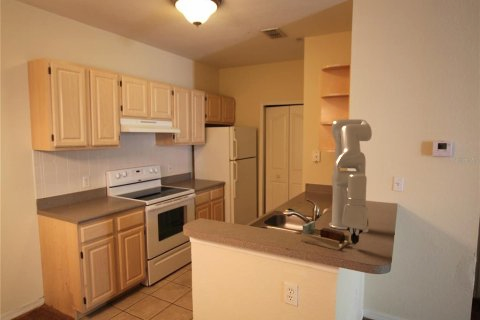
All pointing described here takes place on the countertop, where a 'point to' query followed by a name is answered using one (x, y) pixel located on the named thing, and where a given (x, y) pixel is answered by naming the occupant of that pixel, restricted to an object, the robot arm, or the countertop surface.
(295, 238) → the countertop surface
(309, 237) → the rail board
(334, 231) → the brick
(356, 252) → the countertop surface
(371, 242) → the countertop surface
